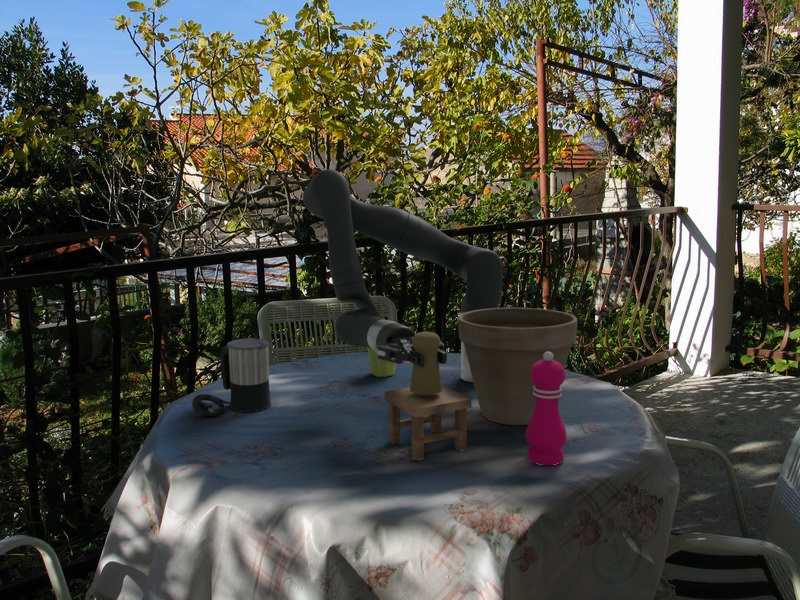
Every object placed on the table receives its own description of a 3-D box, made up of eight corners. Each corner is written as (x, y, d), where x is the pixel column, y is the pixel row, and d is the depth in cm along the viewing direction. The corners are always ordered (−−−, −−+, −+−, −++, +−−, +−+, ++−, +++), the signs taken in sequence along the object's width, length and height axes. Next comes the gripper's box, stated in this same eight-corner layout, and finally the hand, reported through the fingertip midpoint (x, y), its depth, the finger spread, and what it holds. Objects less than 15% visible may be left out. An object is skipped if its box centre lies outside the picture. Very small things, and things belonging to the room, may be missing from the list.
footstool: (438, 430, 140) (438, 382, 138) (471, 450, 130) (471, 399, 128) (384, 441, 135) (384, 391, 133) (414, 462, 124) (414, 409, 122)
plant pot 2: (456, 396, 163) (456, 305, 159) (562, 397, 161) (565, 305, 158) (459, 434, 138) (459, 327, 134) (585, 436, 137) (589, 328, 133)
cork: (445, 387, 132) (446, 330, 130) (436, 396, 127) (437, 337, 125) (415, 383, 134) (415, 328, 132) (405, 393, 128) (405, 335, 127)
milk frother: (280, 403, 159) (277, 339, 156) (238, 425, 145) (234, 355, 142) (228, 396, 165) (225, 334, 162) (183, 416, 150) (179, 349, 148)
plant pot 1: (402, 369, 186) (402, 338, 185) (399, 379, 177) (399, 346, 175) (368, 369, 187) (367, 337, 186) (362, 378, 178) (362, 345, 176)
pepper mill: (520, 452, 128) (522, 347, 125) (558, 451, 129) (562, 346, 126) (531, 468, 121) (533, 357, 118) (571, 466, 122) (575, 356, 119)
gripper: (359, 325, 138) (399, 344, 123) (422, 319, 144) (467, 335, 129) (360, 362, 139) (399, 385, 124) (422, 354, 146) (466, 374, 131)
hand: (433, 359), depth 127 cm, fingers closed on cork, 4 cm apart
